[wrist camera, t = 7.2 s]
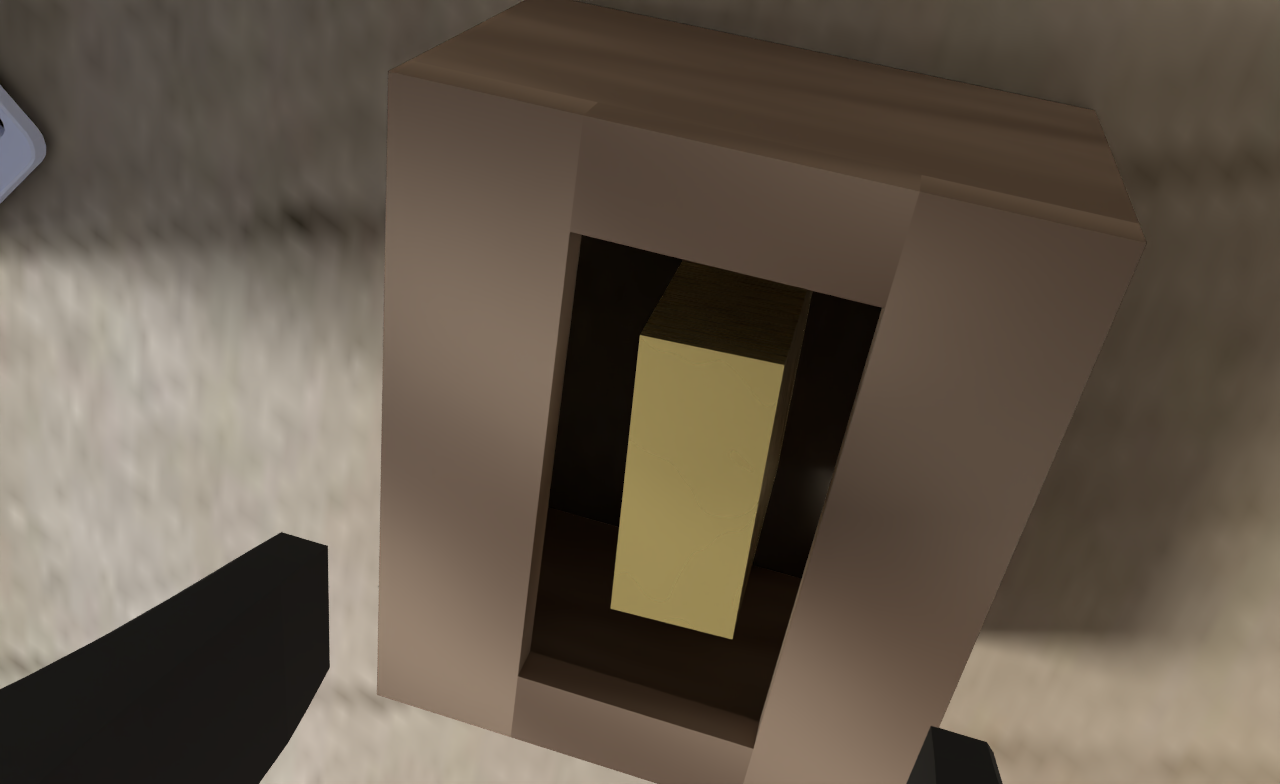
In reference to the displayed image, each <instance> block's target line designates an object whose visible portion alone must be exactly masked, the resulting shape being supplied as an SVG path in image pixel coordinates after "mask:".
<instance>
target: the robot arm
mask: <svg viewBox="0 0 1280 784" xmlns="http://www.w3.org/2000/svg"><path fill="white" fill-rule="evenodd" d="M0 119H1V121H2V122H3V124H4V128H3V127H2V126H1V125H0V203H1V202H2V201H3V200H4V199H5V198H6V197H7V196H8V195H9V194H10V193H11V192H12V191H13V190H14V189H15V188H16V187H17V186H18V185H19V184H20V183H21V182H22V181H23V180H24V179H25V178H26V177H27V176H28V175H29V174H30V173H31V172H32V171H33V170H34V169H35V168H36V167H37V166H38V165H39V164H40V163H41V162H42V161H43V159H44V157H45V156H46V144H45V141H44V138H43V135H42V134H41V132H40V131H39V129H38V128H37V127H36V125H35V124H34V123H33V122H32V121H31V120H30V119H29V117H28V116H27V115H26V114H25V113H24V112H23V110H22V109H21V108H20V107H19V106H18V105H17V104H16V102H15V101H14V100H13V99H12V98H11V97H10V96H9V94H8V93H7V92H6V91H5V90H4V89H3V87H2V86H1V85H0ZM329 668H330V660H329V596H328V546H326V545H323V544H319V543H316V542H312V541H309V540H306V539H302V538H299V537H296V536H292V535H289V534H286V533H282V532H281V533H279V534H278V535H276V536H274V537H272V538H271V539H269V540H267V541H265V542H264V543H262V544H260V545H258V546H257V547H255V548H253V549H252V550H250V551H248V552H246V553H245V554H243V555H241V556H240V557H238V558H236V559H235V560H233V561H231V562H230V563H228V564H226V565H225V566H223V567H221V568H220V569H218V570H216V571H215V572H213V573H211V574H210V575H208V576H206V577H205V578H203V579H201V580H200V581H198V582H196V583H195V584H193V585H191V586H190V587H188V588H186V589H185V590H183V591H181V592H180V593H178V594H176V595H175V596H173V597H171V598H170V599H168V600H166V601H164V602H163V603H161V604H159V605H157V606H156V607H154V608H152V609H150V610H149V611H147V612H145V613H143V614H142V615H140V616H138V617H136V618H135V619H133V620H131V621H129V622H128V623H126V624H124V625H122V626H121V627H119V628H117V629H115V630H114V631H112V632H110V633H108V634H106V635H105V636H103V637H101V638H99V639H97V640H96V641H94V642H92V643H90V644H88V645H86V646H84V647H82V648H80V649H78V650H76V651H75V652H73V653H71V654H69V655H67V656H65V657H63V658H61V659H59V660H57V661H55V662H53V663H52V664H50V665H48V666H46V667H44V668H42V669H40V670H38V671H36V672H34V673H32V674H30V675H29V676H27V677H25V678H22V679H20V680H18V681H16V682H14V683H12V684H10V685H8V686H6V687H4V688H2V689H0V784H259V783H260V781H261V780H262V779H263V777H264V776H265V774H266V773H267V772H268V770H269V769H270V767H271V766H272V765H273V763H274V762H275V760H276V759H277V758H278V756H279V755H280V753H281V752H282V751H283V749H284V748H285V746H286V745H287V743H288V742H289V740H290V738H291V737H292V735H293V733H294V731H295V730H296V728H297V726H298V724H299V723H300V721H301V719H302V717H303V716H304V714H305V712H306V710H307V709H308V707H309V705H310V703H311V701H312V699H313V698H314V696H315V694H316V692H317V690H318V688H319V686H320V685H321V683H322V681H323V679H324V677H325V675H326V673H327V672H328V670H329ZM906 784H1003V783H1002V780H1001V777H1000V774H999V770H998V767H997V764H996V760H995V757H994V753H993V751H992V750H991V748H990V746H989V745H988V743H987V742H984V741H981V740H977V739H974V738H971V737H967V736H964V735H961V734H957V733H954V732H951V731H947V730H944V729H940V728H937V727H934V726H930V729H929V731H928V733H927V736H926V738H925V741H924V743H923V745H922V748H921V750H920V752H919V755H918V757H917V759H916V762H915V764H914V767H913V769H912V771H911V774H910V776H909V778H908V781H907V783H906Z"/></svg>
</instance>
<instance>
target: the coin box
mask: <svg viewBox="0 0 1280 784" xmlns="http://www.w3.org/2000/svg"><path fill="white" fill-rule="evenodd" d="M581 235H585V236H589V237H593V238H598V239H602V240H606V241H610V242H614V243H618V244H622V245H626V246H630V247H635V248H639V249H643V250H647V251H651V252H655V253H659V254H663V255H667V256H672V257H676V258H680V259H684V260H688V261H692V262H696V263H700V264H704V265H709V266H713V267H717V268H721V269H725V270H729V271H733V272H737V273H741V274H746V275H750V276H754V277H758V278H762V279H766V280H770V281H774V282H778V283H783V284H787V285H791V286H795V287H799V288H803V289H807V290H811V291H815V292H820V293H824V294H828V295H832V296H836V297H840V298H844V299H848V300H852V301H857V302H861V303H865V304H869V305H873V306H877V307H881V308H882V310H881V313H880V317H879V320H878V323H877V327H876V330H875V334H874V337H873V340H872V344H871V347H870V350H869V354H868V357H867V360H866V364H865V367H864V371H863V374H862V377H861V381H860V384H859V387H858V391H857V394H856V398H855V401H854V404H853V408H852V411H851V414H850V418H849V421H848V425H847V428H846V431H845V435H844V438H843V441H842V445H841V448H840V452H839V455H838V458H837V462H836V465H835V468H834V472H833V475H832V478H831V482H830V485H829V489H828V492H827V495H826V499H825V502H824V505H823V509H822V512H821V516H820V519H819V522H818V526H817V529H816V532H815V536H814V539H813V543H812V546H811V549H810V553H809V556H808V559H807V563H806V566H805V570H804V573H803V576H802V579H801V578H797V577H794V576H790V575H787V574H783V573H780V572H776V571H772V570H769V569H765V568H762V567H758V566H755V565H752V567H751V571H750V575H749V579H748V582H747V586H746V590H745V594H744V597H743V601H742V605H741V609H740V613H739V616H738V620H737V624H736V628H735V631H734V635H733V639H728V638H725V637H721V636H717V635H713V634H709V633H705V632H701V631H697V630H693V629H689V628H685V627H681V626H677V625H673V624H669V623H665V622H661V621H658V620H654V619H650V618H646V617H642V616H638V615H634V614H630V613H626V612H622V611H618V610H614V609H611V599H612V590H613V581H614V571H615V562H616V553H617V544H618V534H619V527H617V526H613V525H610V524H606V523H603V522H599V521H596V520H592V519H589V518H585V517H582V516H578V515H575V514H571V513H567V512H564V511H560V510H557V509H553V508H550V507H548V503H549V495H550V486H551V478H552V470H553V462H554V454H555V446H556V438H557V430H558V422H559V414H560V405H561V397H562V389H563V381H564V373H565V365H566V357H567V349H568V341H569V333H570V324H571V316H572V308H573V300H574V292H575V284H576V276H577V268H578V260H579V252H580V243H581ZM1146 244H1147V242H1146V240H1145V237H1144V235H1143V232H1142V230H1141V227H1140V224H1139V222H1138V219H1137V217H1136V214H1135V212H1134V209H1133V207H1132V204H1131V201H1130V199H1129V196H1128V194H1127V191H1126V189H1125V186H1124V183H1123V181H1122V178H1121V176H1120V173H1119V171H1118V168H1117V166H1116V163H1115V160H1114V158H1113V155H1112V153H1111V150H1110V148H1109V145H1108V142H1107V140H1106V137H1105V135H1104V132H1103V130H1102V127H1101V125H1100V122H1099V119H1098V117H1097V114H1096V112H1095V110H1090V109H1085V108H1081V107H1076V106H1071V105H1066V104H1062V103H1057V102H1052V101H1047V100H1043V99H1038V98H1033V97H1028V96H1024V95H1019V94H1014V93H1009V92H1005V91H1000V90H995V89H991V88H986V87H981V86H976V85H972V84H967V83H962V82H957V81H953V80H948V79H943V78H938V77H934V76H929V75H924V74H919V73H915V72H910V71H905V70H900V69H896V68H891V67H886V66H881V65H877V64H872V63H867V62H862V61H858V60H853V59H848V58H843V57H839V56H834V55H829V54H824V53H820V52H815V51H810V50H805V49H801V48H796V47H791V46H786V45H782V44H777V43H772V42H767V41H763V40H758V39H753V38H748V37H744V36H739V35H734V34H729V33H725V32H720V31H715V30H710V29H706V28H701V27H696V26H691V25H687V24H682V23H677V22H672V21H668V20H663V19H658V18H653V17H649V16H644V15H639V14H634V13H630V12H625V11H620V10H615V9H611V8H606V7H601V6H596V5H592V4H587V3H582V2H577V1H573V0H525V1H523V2H521V3H519V4H517V5H515V6H513V7H511V8H509V9H507V10H505V11H503V12H501V13H500V14H498V15H496V16H494V17H492V18H490V19H488V20H486V21H484V22H482V23H480V24H478V25H476V26H474V27H473V28H471V29H469V30H467V31H465V32H463V33H461V34H459V35H457V36H455V37H453V38H451V39H449V40H447V41H446V42H444V43H442V44H440V45H438V46H436V47H434V48H432V49H430V50H428V51H426V52H424V53H422V54H420V55H419V56H417V57H415V58H413V59H411V60H409V61H407V62H405V63H403V64H401V65H399V66H397V67H395V68H393V69H392V70H390V71H388V110H387V166H386V222H385V277H384V333H383V389H382V444H381V500H380V556H379V612H378V667H377V695H380V696H383V697H386V698H389V699H392V700H395V701H399V702H402V703H405V704H408V705H411V706H414V707H418V708H421V709H424V710H427V711H430V712H433V713H436V714H440V715H443V716H446V717H449V718H452V719H455V720H459V721H462V722H465V723H468V724H471V725H474V726H477V727H481V728H484V729H487V730H490V731H493V732H496V733H500V734H503V735H506V736H509V737H512V738H515V739H518V740H522V741H525V742H528V743H531V744H534V745H537V746H540V747H544V748H547V749H550V750H553V751H556V752H559V753H563V754H566V755H569V756H572V757H575V758H578V759H581V760H585V761H588V762H591V763H594V764H597V765H600V766H604V767H607V768H610V769H613V770H616V771H619V772H622V773H626V774H629V775H632V776H635V777H638V778H641V779H645V780H648V781H651V782H654V783H657V784H906V783H907V781H908V778H909V776H910V774H911V771H912V769H913V767H914V764H915V762H916V759H917V757H918V755H919V752H920V750H921V748H922V745H923V743H924V741H925V738H926V736H927V733H928V731H929V729H930V726H934V727H937V728H939V726H940V724H941V721H942V719H943V717H944V714H945V712H946V710H947V707H948V705H949V703H950V700H951V698H952V696H953V693H954V691H955V689H956V686H957V684H958V682H959V679H960V677H961V675H962V672H963V670H964V668H965V665H966V663H967V661H968V658H969V656H970V654H971V651H972V649H973V647H974V644H975V642H976V640H977V637H978V635H979V633H980V630H981V628H982V626H983V623H984V621H985V619H986V616H987V614H988V612H989V609H990V607H991V605H992V602H993V600H994V598H995V595H996V593H997V591H998V588H999V586H1000V584H1001V581H1002V579H1003V577H1004V575H1005V572H1006V570H1007V568H1008V565H1009V563H1010V561H1011V558H1012V556H1013V554H1014V551H1015V549H1016V547H1017V544H1018V542H1019V540H1020V537H1021V535H1022V533H1023V530H1024V528H1025V526H1026V523H1027V521H1028V519H1029V516H1030V514H1031V512H1032V509H1033V507H1034V505H1035V502H1036V500H1037V498H1038V495H1039V493H1040V491H1041V488H1042V486H1043V484H1044V481H1045V479H1046V477H1047V474H1048V472H1049V470H1050V467H1051V465H1052V463H1053V460H1054V458H1055V456H1056V453H1057V451H1058V449H1059V446H1060V444H1061V442H1062V439H1063V437H1064V435H1065V432H1066V430H1067V428H1068V425H1069V423H1070V421H1071V418H1072V416H1073V414H1074V411H1075V409H1076V407H1077V404H1078V402H1079V400H1080V397H1081V395H1082V393H1083V390H1084V388H1085V386H1086V383H1087V381H1088V379H1089V376H1090V374H1091V372H1092V369H1093V367H1094V365H1095V362H1096V360H1097V358H1098V355H1099V353H1100V351H1101V348H1102V346H1103V344H1104V341H1105V339H1106V337H1107V334H1108V332H1109V330H1110V327H1111V325H1112V323H1113V320H1114V318H1115V316H1116V313H1117V311H1118V309H1119V306H1120V304H1121V302H1122V299H1123V297H1124V295H1125V293H1126V290H1127V288H1128V286H1129V283H1130V281H1131V279H1132V276H1133V274H1134V272H1135V269H1136V267H1137V265H1138V262H1139V260H1140V258H1141V255H1142V253H1143V251H1144V248H1145V246H1146Z"/></svg>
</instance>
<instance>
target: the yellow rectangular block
mask: <svg viewBox="0 0 1280 784" xmlns="http://www.w3.org/2000/svg"><path fill="white" fill-rule="evenodd" d="M812 292H813V291H811V290H807V289H803V288H799V287H795V286H791V285H787V284H783V283H778V282H774V281H770V280H766V279H762V278H758V277H754V276H750V275H746V274H741V273H737V272H733V271H729V270H725V269H721V268H717V267H713V266H709V265H704V264H700V263H696V262H692V261H688V260H684V259H683V261H682V263H681V264H680V266H679V268H678V269H677V271H676V273H675V275H674V276H673V278H672V280H671V282H670V283H669V285H668V287H667V289H666V290H665V292H664V294H663V296H662V297H661V299H660V301H659V303H658V304H657V306H656V308H655V310H654V311H653V313H652V315H651V317H650V318H649V320H648V322H647V324H646V325H645V327H644V329H643V330H642V332H641V334H640V338H639V348H638V357H637V366H636V376H635V385H634V394H633V404H632V413H631V422H630V432H629V441H628V450H627V460H626V469H625V478H624V488H623V497H622V506H621V516H620V525H619V534H618V544H617V553H616V562H615V571H614V581H613V590H612V599H611V609H614V610H618V611H622V612H626V613H630V614H634V615H638V616H642V617H646V618H650V619H654V620H658V621H661V622H665V623H669V624H673V625H677V626H681V627H685V628H689V629H693V630H697V631H701V632H705V633H709V634H713V635H717V636H721V637H725V638H728V639H733V635H734V631H735V628H736V624H737V620H738V616H739V613H740V609H741V605H742V601H743V597H744V594H745V590H746V586H747V582H748V579H749V575H750V571H751V567H752V563H753V560H754V556H755V552H756V548H757V545H758V541H759V537H760V533H761V529H762V526H763V522H764V518H765V514H766V511H767V507H768V503H769V499H770V495H771V492H772V488H773V484H774V480H775V477H776V473H777V469H778V464H779V459H780V454H781V449H782V444H783V439H784V434H785V429H786V424H787V419H788V414H789V409H790V403H791V398H792V393H793V388H794V383H795V378H796V373H797V368H798V363H799V358H800V353H801V348H802V343H803V338H804V333H805V328H806V322H807V317H808V312H809V307H810V302H811V297H812Z"/></svg>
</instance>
